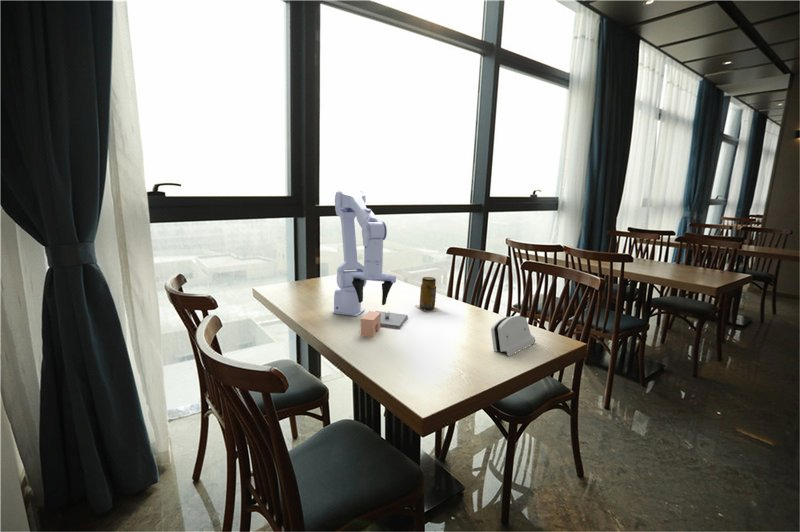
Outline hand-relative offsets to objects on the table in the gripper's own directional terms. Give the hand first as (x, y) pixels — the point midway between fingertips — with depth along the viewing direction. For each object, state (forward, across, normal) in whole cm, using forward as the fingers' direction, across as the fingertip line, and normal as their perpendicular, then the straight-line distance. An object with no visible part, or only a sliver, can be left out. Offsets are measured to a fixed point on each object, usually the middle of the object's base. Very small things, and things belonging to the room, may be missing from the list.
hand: (372, 303), depth 120 cm
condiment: (+10, +13, +32) cm, 36 cm away
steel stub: (+9, +2, +12) cm, 15 cm away
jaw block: (+10, 0, 0) cm, 10 cm away
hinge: (+10, +44, +4) cm, 45 cm away
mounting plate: (+9, +2, +12) cm, 15 cm away
